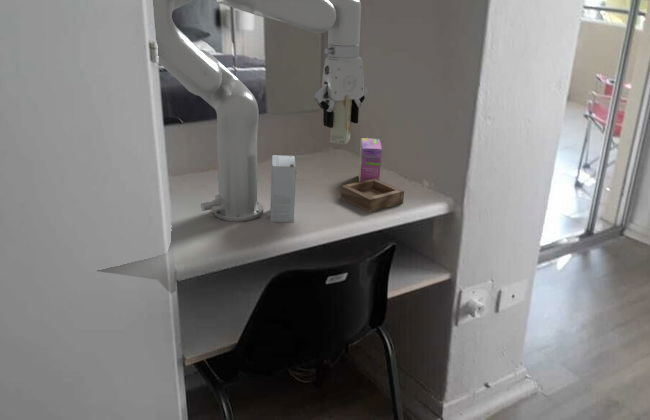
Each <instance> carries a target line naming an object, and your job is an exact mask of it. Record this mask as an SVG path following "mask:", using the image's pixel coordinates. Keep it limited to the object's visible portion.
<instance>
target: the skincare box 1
mask: <svg viewBox="0 0 650 420" xmlns="http://www.w3.org/2000/svg"><path fill="white" fill-rule="evenodd" d="M295 157H296V156H294V155H279V154H272V156H271V172H270V173H271V174H270V175H271V180H270V185H271V186H270V204H269V206H270V208H269V209H270V222H271V223H273V222H274V223H276V222H277V223H294V221H295V205H296V204H295V203H296V181H297V180H296V179H297V178H296V177H297V167H296V162H297V161H296V158H295Z"/></svg>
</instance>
